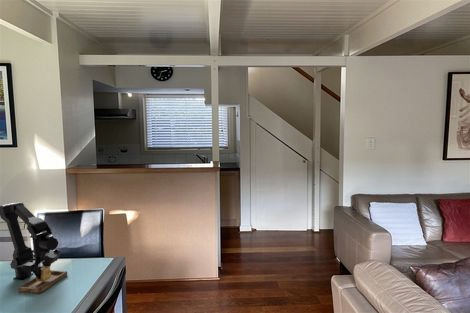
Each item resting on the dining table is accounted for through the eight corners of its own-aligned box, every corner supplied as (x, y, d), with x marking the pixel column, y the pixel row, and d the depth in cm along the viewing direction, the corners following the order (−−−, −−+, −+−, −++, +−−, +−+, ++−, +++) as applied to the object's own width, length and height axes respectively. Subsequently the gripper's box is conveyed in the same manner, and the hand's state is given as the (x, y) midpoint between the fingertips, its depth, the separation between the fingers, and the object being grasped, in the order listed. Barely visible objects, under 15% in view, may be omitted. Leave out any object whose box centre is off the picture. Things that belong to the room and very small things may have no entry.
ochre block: (36, 281, 159) (35, 269, 159) (43, 276, 164) (42, 265, 163) (44, 281, 158) (42, 270, 158) (51, 277, 163) (49, 266, 162)
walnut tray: (18, 292, 154) (18, 287, 153) (47, 274, 171) (47, 269, 171) (40, 294, 151) (39, 289, 151) (67, 275, 169) (67, 271, 169)
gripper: (39, 255, 148) (42, 287, 150) (67, 240, 167) (70, 269, 168) (18, 254, 151) (22, 286, 152) (49, 239, 169) (52, 268, 171)
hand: (43, 276), depth 161 cm, fingers closed on ochre block, 4 cm apart
